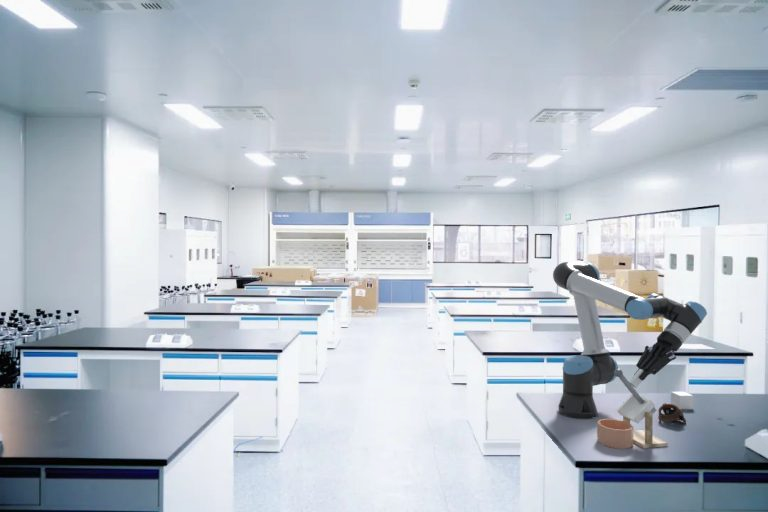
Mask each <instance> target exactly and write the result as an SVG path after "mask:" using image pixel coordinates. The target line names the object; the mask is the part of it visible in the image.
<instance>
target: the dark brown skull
mask: <svg viewBox="0 0 768 512" xmlns="http://www.w3.org/2000/svg"><path fill="white" fill-rule="evenodd" d="M657 410H658V417H657V418H658V421H659V422H660V423H662V422H668V423H669V422H674V421H682V422H683V423H684V424H685V425H687V420H686V417H685V415H684V411H683V409H679V408H678V407H677V406H676V405H673V404H671V403H663V404H662V405H661V406H659V408H658V409H657ZM662 411H663V412H662Z"/></svg>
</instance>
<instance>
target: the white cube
mask: <svg viewBox="0 0 768 512" xmlns="http://www.w3.org/2000/svg"><path fill="white" fill-rule="evenodd" d="M670 404H673V405H676V406H677V407H678V408H679V409H681V410H694V395H692V394H691V393H688V392H686V391H670Z"/></svg>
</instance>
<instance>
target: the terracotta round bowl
mask: <svg viewBox="0 0 768 512" xmlns="http://www.w3.org/2000/svg"><path fill="white" fill-rule="evenodd" d="M596 424H597V425H596V427H597V429H596V430H597V432H596V434H597V435H596V438H597V442H598V443H599V444H601V445H602V446H605V447H606V448H607V447H608V448H612V449H616V450H617V449H619V450H627V449H631V448H633V446H634V443H633V431H634V426H633V425H632V424H631V423H630V424H629V423H627V422H624V421H623V420H622V419H621V420H620V419H616V418H614V419H613V418H603V419H599V420H598V421H597V422H596Z"/></svg>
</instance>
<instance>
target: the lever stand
mask: <svg viewBox="0 0 768 512" xmlns="http://www.w3.org/2000/svg"><path fill="white" fill-rule="evenodd" d="M624 402H625V401H623V402H622V404H623V403H624ZM653 415H654V414H653V413H651V412H645V417H644V430H643V429H633V444H635V445H637V446H639V447H641V448H643V449H650V448H649V447H652V448H662V447H668V442H666V441H665V440H663V439H660V438H659V437H657V436H655V435H653V431H654V430H653V425H654V424H653V418H654V416H653ZM622 421H624V422H627V423H629V424H631V420H630V419H628V418H626V417H624V416H622Z"/></svg>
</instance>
